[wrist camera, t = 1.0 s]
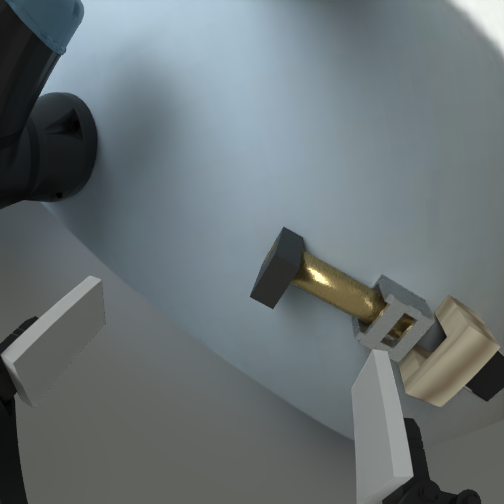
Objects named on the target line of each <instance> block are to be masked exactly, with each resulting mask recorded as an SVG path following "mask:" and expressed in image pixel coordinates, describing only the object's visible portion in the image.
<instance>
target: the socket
mask: <svg viewBox="0 0 504 504" xmlns="http://www.w3.org/2000/svg"><path fill="white" fill-rule="evenodd" d="M435 315H436V317H437V318H438V320H439V322H440V324H441V326H442V328H443V330H444V332H445V334H446V336H447V338H446V339H445V340H444V341H443V342H442V343H441V344H440V346H439V347H438V348H437V349H436V350H435V351H434V352H433V353H431V352H430V351H428V350H426V349H424V348H422V347H420V346H418V345H416V344H415V345H414V346H413V347H412V349H411V350H410V351H409V352H408V353H407V354H406V355H405V356H404V357H403V359H402V360H401V361H399V362H398V365H399V369H400V373H401V377H402V381H403V385H404V389H405V393H406V394H408V395H411V396H413V397H416V398H418V399H420V400H423V401H425V402H428V403H430V404H433V405H435V406H438V407H442V406H443V405H444V404H445V403H446V402H448V401H449V400H450V399H451V398H452V397H453V396H454V395H455V394H456V393H457V392H458V391H459V390H460V389H462V388H463V387H464V386H465V385H466V384H467V383H468V382H469V381H470V380H471V379H472V378H473V377H474V376H475V375H476V374H477V373H478V371H479V370H480V369H481V368H482V367H483V366H484V365H485V364H486V363H487V362H488V361H489V360H490V359H491V357H492V356H493V355H494V354H495V353H496V352H497V351H498V350H499V348H500V346H499V344H498V342H497V341H496V339H495V338H494V336H493V335H492V333H491V332H490V330H489V329H488V327H487V326H486V324H485V323H484V322H483V320H482V319H481V317H480V316H479V315H477V314H476V313H475V312H473V311H472V310H470V309H469V308H468V307H466V306H465V305H463V304H462V303H460V302H459V301H458V300H456V299H455V298H453V297H452V296H450V295H448V296H447V298H446V299H445V300H444V302H443V303H442V304H441V305H440V307H439V308H438V309H437V310H436V312H435Z"/></svg>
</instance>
